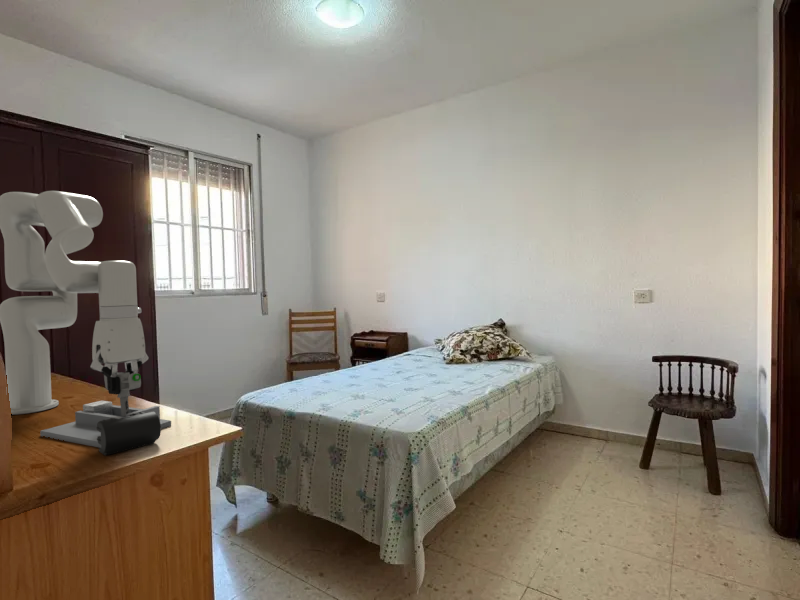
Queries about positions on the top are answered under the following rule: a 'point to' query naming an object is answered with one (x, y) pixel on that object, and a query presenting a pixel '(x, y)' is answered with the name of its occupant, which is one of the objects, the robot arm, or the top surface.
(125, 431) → the end cap
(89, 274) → the robot arm
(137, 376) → the mechanical component
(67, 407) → the top surface
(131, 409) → the grey railed base plate
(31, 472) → the top surface
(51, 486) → the top surface
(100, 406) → the grey matte cube
